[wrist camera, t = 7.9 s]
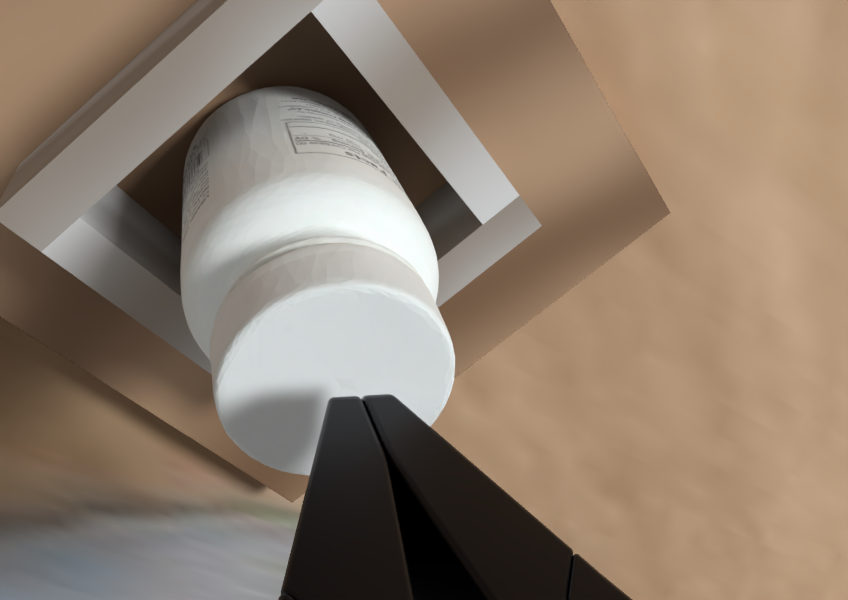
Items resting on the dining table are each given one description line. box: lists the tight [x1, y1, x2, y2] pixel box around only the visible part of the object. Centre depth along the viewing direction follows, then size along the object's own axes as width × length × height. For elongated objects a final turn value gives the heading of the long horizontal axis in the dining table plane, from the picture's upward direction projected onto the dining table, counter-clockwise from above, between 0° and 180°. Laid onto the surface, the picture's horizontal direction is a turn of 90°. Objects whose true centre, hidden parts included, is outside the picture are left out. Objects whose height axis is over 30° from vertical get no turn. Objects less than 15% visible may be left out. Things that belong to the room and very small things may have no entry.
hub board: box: [0, 0, 670, 502], centre depth 16 cm, size 16×14×4 cm
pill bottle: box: [180, 86, 455, 476], centre depth 13 cm, size 4×4×8 cm
